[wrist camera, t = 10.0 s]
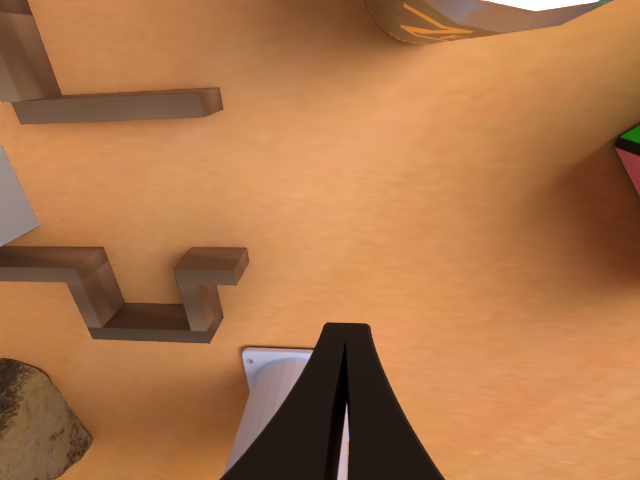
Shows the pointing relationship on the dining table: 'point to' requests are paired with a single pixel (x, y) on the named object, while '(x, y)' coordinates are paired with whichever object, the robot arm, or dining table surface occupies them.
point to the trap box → (91, 262)
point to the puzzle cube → (630, 154)
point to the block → (13, 204)
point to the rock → (36, 426)
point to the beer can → (471, 17)
